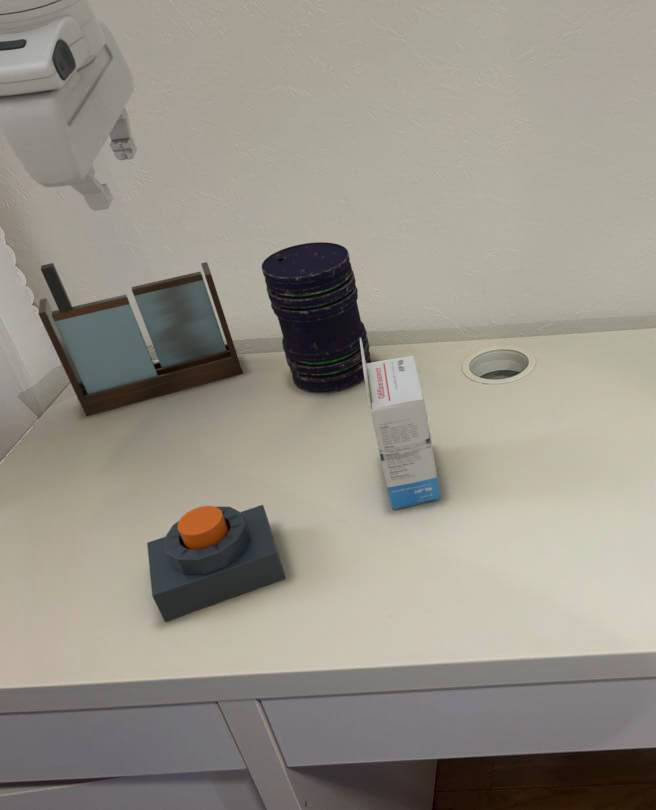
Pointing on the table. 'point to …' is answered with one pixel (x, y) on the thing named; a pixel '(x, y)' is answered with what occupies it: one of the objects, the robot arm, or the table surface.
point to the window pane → (100, 338)
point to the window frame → (164, 342)
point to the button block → (214, 564)
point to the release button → (202, 527)
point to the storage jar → (318, 315)
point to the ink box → (401, 430)
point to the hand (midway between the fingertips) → (116, 180)
